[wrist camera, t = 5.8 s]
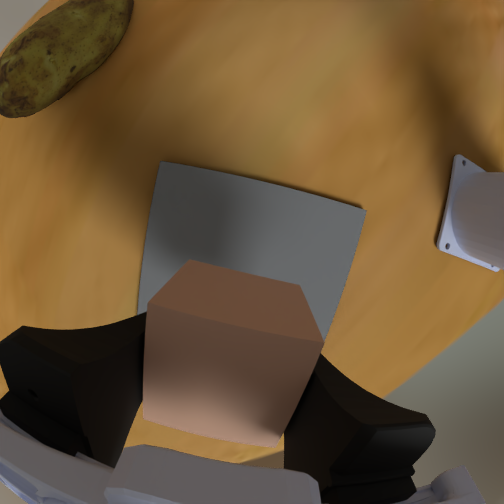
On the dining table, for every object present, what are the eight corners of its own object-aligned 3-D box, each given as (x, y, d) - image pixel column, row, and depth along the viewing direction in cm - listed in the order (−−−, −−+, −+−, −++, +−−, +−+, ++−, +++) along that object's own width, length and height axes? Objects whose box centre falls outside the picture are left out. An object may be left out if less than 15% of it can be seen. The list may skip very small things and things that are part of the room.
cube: (300, 285, 12) (324, 342, 7) (270, 373, 13) (275, 447, 8) (189, 259, 12) (147, 302, 7) (175, 351, 13) (143, 418, 8)
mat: (363, 209, 18) (366, 210, 17) (305, 378, 21) (306, 383, 20) (163, 161, 17) (160, 160, 17) (138, 340, 20) (135, 344, 20)
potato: (169, 35, 15) (131, -24, 7) (51, 141, 17) (-17, 132, 9) (129, -6, 14) (93, -52, 6) (28, 86, 16) (-26, 69, 8)
